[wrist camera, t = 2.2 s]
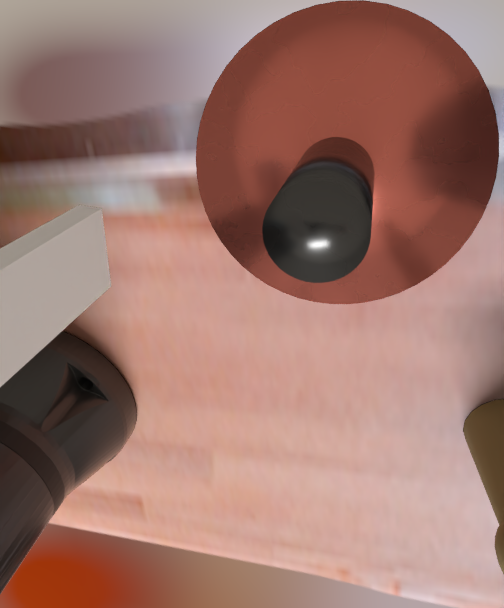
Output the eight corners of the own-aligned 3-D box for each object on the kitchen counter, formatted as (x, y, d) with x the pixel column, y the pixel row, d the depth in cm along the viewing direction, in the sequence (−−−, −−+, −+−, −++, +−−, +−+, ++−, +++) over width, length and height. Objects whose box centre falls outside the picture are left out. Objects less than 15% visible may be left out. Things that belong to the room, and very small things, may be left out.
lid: (211, 260, 31) (139, 355, 22) (215, -5, 23) (104, -32, 14) (439, 299, 28) (465, 426, 19) (534, 15, 20) (659, -1, 11)
